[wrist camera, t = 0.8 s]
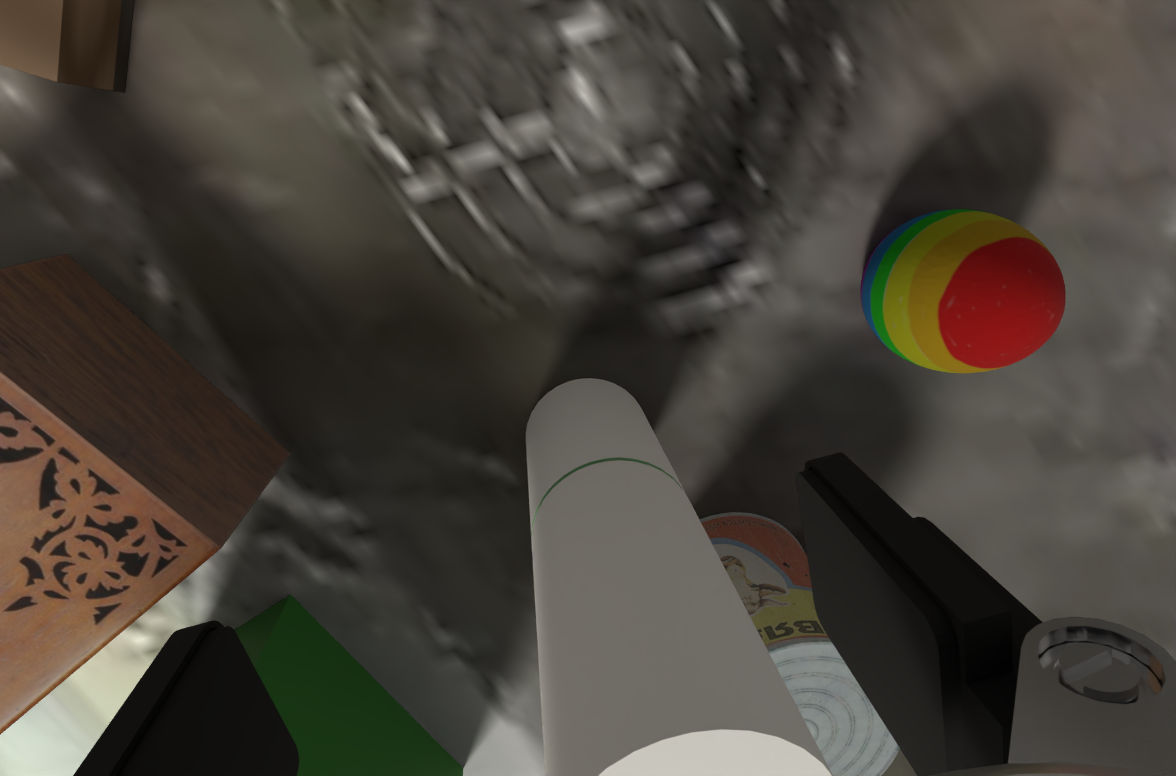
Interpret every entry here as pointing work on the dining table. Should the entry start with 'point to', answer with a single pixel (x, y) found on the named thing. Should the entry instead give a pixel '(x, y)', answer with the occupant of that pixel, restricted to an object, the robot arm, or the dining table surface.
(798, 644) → the canned food
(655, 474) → the cylindrical container
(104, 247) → the dining table surface
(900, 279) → the decorative egg
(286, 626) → the hardback book
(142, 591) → the tissue box cover
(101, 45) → the block
